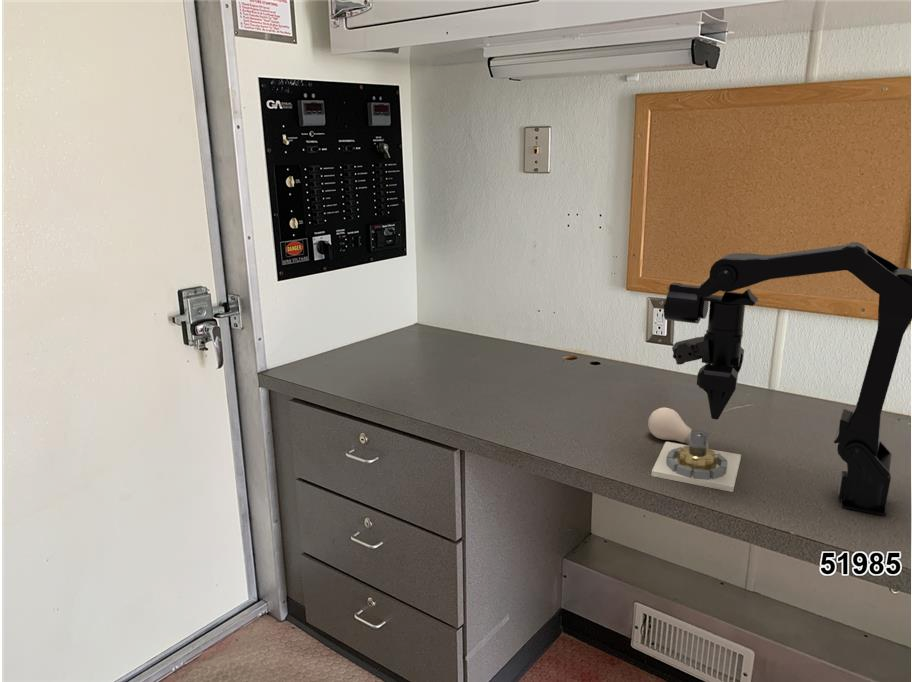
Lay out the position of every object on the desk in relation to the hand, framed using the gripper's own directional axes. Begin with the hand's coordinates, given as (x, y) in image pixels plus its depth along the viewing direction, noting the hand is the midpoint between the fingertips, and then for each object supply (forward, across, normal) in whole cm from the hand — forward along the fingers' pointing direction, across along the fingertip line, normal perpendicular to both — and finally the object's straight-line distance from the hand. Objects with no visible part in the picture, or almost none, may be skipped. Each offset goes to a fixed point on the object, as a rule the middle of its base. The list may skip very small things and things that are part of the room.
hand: (717, 409), depth 129 cm
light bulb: (+12, -10, -8) cm, 18 cm away
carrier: (+12, +1, -3) cm, 12 cm away
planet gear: (+11, +2, -3) cm, 11 cm away
